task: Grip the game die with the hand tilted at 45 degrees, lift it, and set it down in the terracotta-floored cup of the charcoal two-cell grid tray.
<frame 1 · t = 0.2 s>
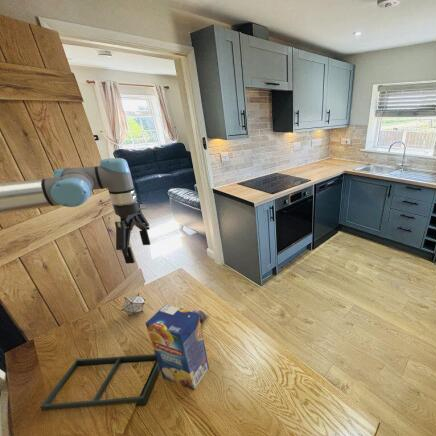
hand: (139, 253, 94), 26 cm above the table, tool pointing down, fingers open, 13 cm apart
game die: (136, 312, 100), on the table
juice carton: (186, 373, 77), on the table
grid: (111, 384, 73), on the table
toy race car: (184, 324, 95), on the table
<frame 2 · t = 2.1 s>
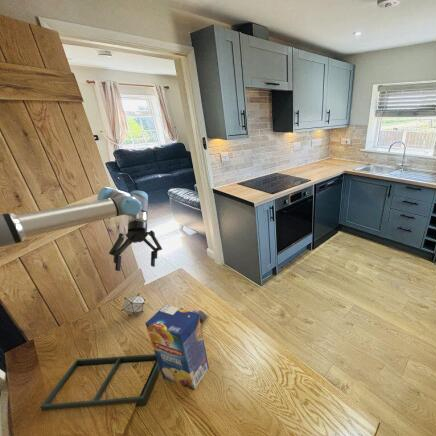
hand: (135, 268, 103), 15 cm above the table, tool tilted 45°, fingers open, 13 cm apart
nothing on the table moved.
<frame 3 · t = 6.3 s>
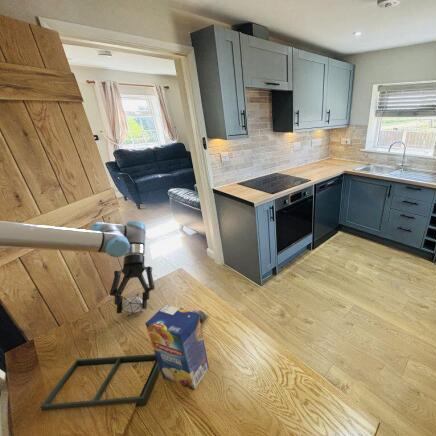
hand: (131, 310, 95), 4 cm above the table, tool tilted 45°, fingers closed on game die, 8 cm apart
game die: (135, 312, 100), on the table, touching gripper
everything else where it was.
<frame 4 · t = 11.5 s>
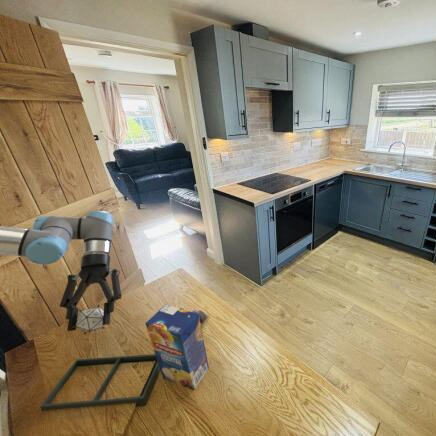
hand: (89, 327, 73), 16 cm above the table, tool tilted 45°, fingers closed on game die, 8 cm apart
game die: (95, 328, 77), point 12 cm above the table, touching gripper
everything else where it was.
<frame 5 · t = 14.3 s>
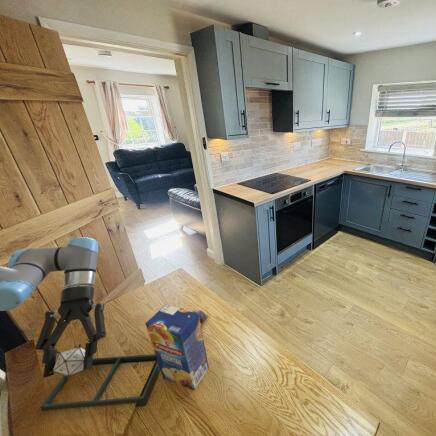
hand: (68, 372, 65), 12 cm above the table, tool tilted 45°, fingers closed on game die, 8 cm apart
game die: (77, 370, 69), point 8 cm above the table, touching gripper
everything else where it was.
when the fingers open (5 cm above the table, at t = 16.7 s): game die stays where it is, resting on grid.
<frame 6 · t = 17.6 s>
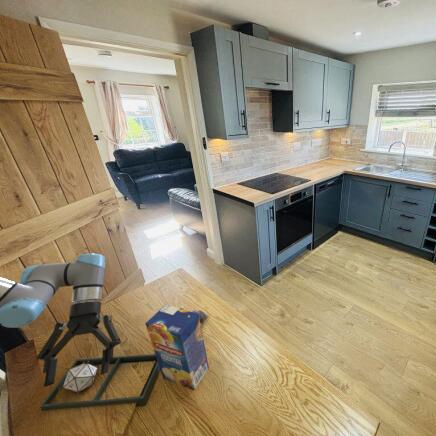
hand: (77, 379, 68), 6 cm above the table, tool tilted 45°, fingers open, 13 cm apart
game die: (85, 386, 72), point 1 cm above the table, touching grid
everything else where it was.
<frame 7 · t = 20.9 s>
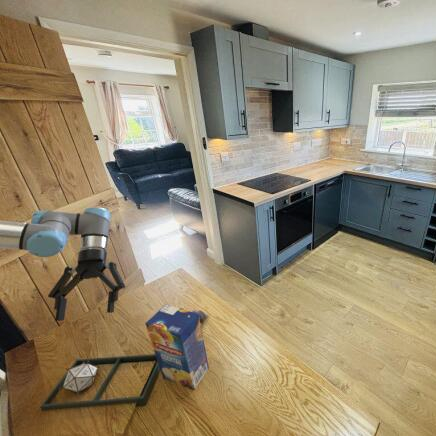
hand: (85, 316, 75), 18 cm above the table, tool tilted 45°, fingers open, 13 cm apart
nothing on the table moved.
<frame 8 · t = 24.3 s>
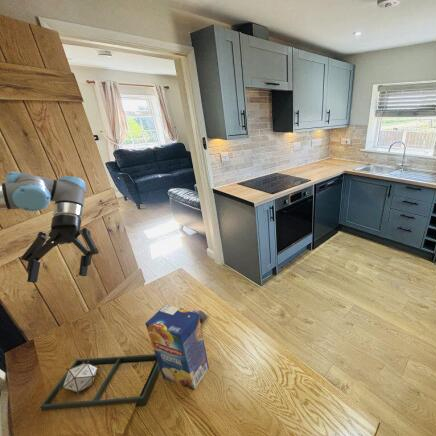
hand: (57, 278, 76), 28 cm above the table, tool tilted 45°, fingers open, 13 cm apart
nothing on the table moved.
at the end: game die inside the target area in the grid (0.6 cm from its centre), point 0.6 cm above the grid's base; game die tilted 1°; the gripper is holding nothing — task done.
